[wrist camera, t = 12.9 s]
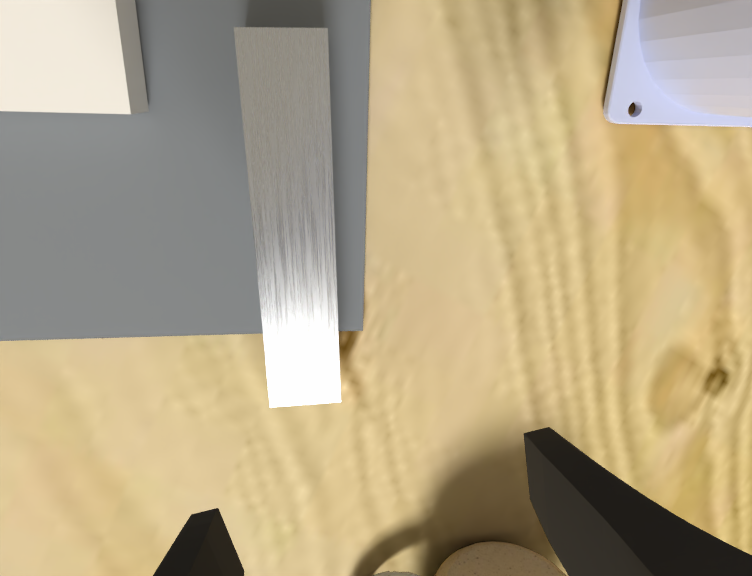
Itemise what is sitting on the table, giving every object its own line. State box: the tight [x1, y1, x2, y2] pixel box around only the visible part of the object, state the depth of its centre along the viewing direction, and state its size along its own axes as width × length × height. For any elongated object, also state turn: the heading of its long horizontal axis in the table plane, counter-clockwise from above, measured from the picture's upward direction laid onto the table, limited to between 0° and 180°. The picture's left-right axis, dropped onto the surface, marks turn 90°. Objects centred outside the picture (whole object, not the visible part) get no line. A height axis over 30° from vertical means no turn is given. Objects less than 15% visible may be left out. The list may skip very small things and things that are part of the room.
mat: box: [0, 0, 371, 341], centre depth 16 cm, size 16×16×1 cm
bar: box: [234, 27, 341, 407], centre depth 17 cm, size 2×12×2 cm
